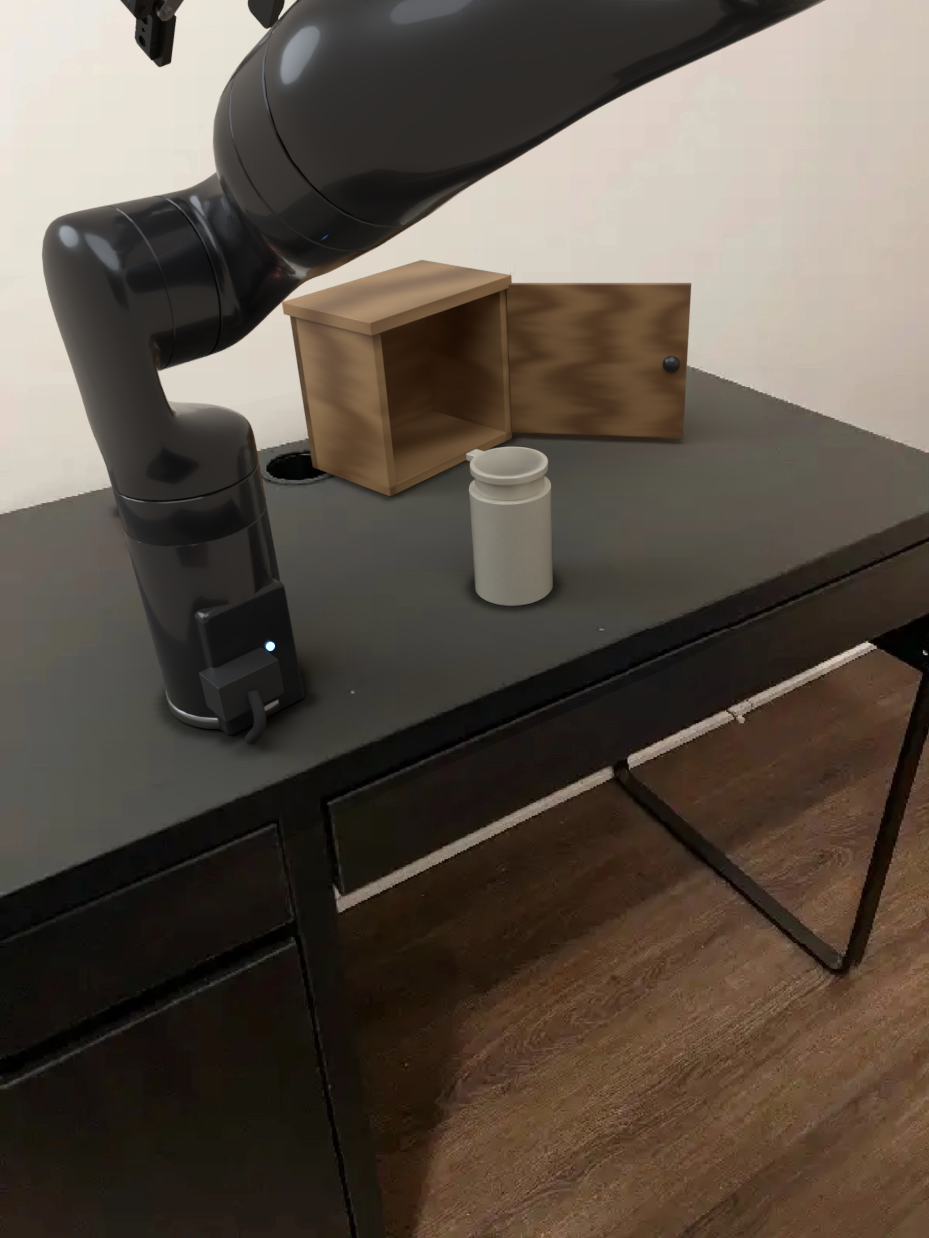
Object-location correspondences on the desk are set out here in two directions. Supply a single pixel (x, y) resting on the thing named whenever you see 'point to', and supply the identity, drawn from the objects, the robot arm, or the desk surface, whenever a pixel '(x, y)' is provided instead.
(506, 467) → the white jar
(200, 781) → the desk surface
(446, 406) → the cabinet
